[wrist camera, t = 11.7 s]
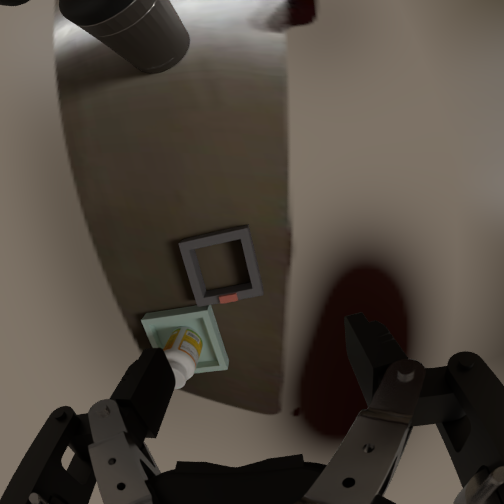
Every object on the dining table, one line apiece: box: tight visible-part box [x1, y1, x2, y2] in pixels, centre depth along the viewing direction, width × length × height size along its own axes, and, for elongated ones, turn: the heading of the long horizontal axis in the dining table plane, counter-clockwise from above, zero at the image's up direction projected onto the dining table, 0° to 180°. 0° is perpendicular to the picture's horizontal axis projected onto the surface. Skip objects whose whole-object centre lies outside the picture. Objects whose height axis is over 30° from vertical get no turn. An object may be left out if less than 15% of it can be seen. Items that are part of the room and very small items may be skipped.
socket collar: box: [178, 224, 263, 307], centre depth 39 cm, size 9×9×3 cm
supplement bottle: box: [163, 327, 203, 389], centre depth 38 cm, size 5×5×10 cm
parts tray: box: [141, 305, 229, 373], centre depth 42 cm, size 11×11×2 cm
